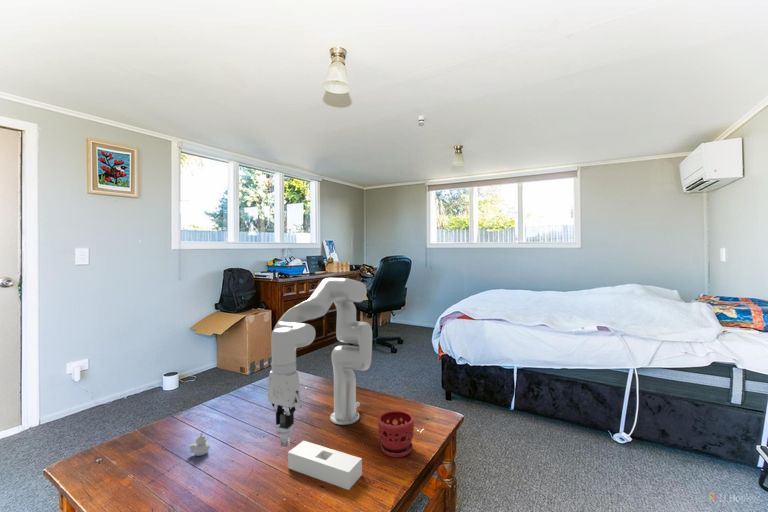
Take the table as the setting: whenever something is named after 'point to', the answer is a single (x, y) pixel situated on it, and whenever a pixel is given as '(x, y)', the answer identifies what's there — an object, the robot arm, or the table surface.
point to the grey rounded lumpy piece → (200, 446)
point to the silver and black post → (284, 430)
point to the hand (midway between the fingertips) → (284, 423)
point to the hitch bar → (325, 464)
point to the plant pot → (396, 433)
